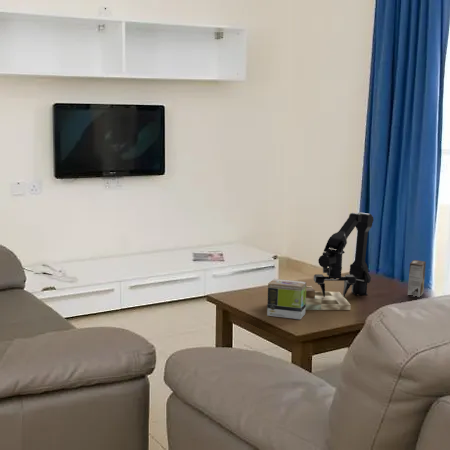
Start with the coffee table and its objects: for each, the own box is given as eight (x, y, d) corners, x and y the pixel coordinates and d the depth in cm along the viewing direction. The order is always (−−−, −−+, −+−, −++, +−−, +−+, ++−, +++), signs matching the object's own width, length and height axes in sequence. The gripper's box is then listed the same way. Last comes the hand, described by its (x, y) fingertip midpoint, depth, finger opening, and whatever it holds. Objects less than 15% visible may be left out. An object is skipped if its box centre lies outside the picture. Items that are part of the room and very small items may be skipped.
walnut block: (312, 296, 341) (312, 287, 341) (314, 299, 336) (315, 291, 335) (300, 296, 341) (301, 287, 340) (302, 299, 336) (303, 290, 335)
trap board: (339, 296, 351) (339, 286, 350) (350, 310, 330) (351, 299, 329) (295, 296, 349) (296, 286, 349) (304, 309, 328) (304, 298, 327)
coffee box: (410, 291, 365) (413, 259, 362) (423, 293, 363) (426, 261, 360) (406, 295, 357) (409, 263, 354) (420, 297, 354) (422, 264, 352)
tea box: (305, 314, 322) (307, 281, 319) (300, 320, 312) (302, 286, 310) (272, 309, 326) (273, 277, 324) (266, 316, 317) (267, 282, 314)
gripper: (351, 260, 345) (349, 292, 348) (312, 259, 344) (310, 291, 347) (357, 265, 334) (355, 298, 337) (316, 265, 333) (315, 298, 336)
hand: (333, 296), depth 340 cm, fingers open, 9 cm apart
